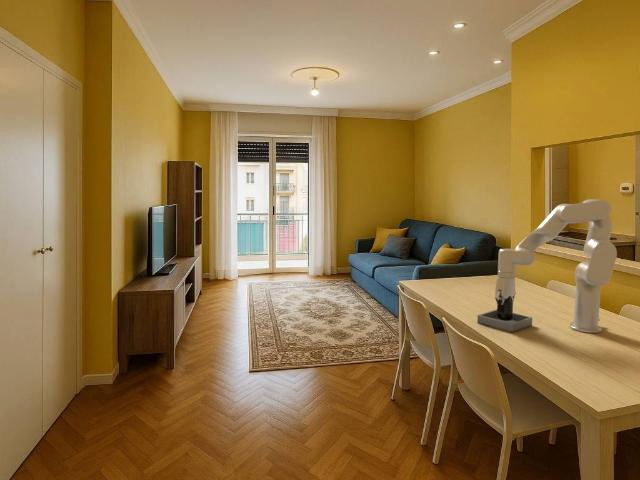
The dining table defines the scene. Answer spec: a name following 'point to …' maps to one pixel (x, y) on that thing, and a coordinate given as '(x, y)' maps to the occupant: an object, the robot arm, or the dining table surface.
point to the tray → (509, 326)
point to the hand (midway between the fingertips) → (505, 310)
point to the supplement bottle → (506, 310)
